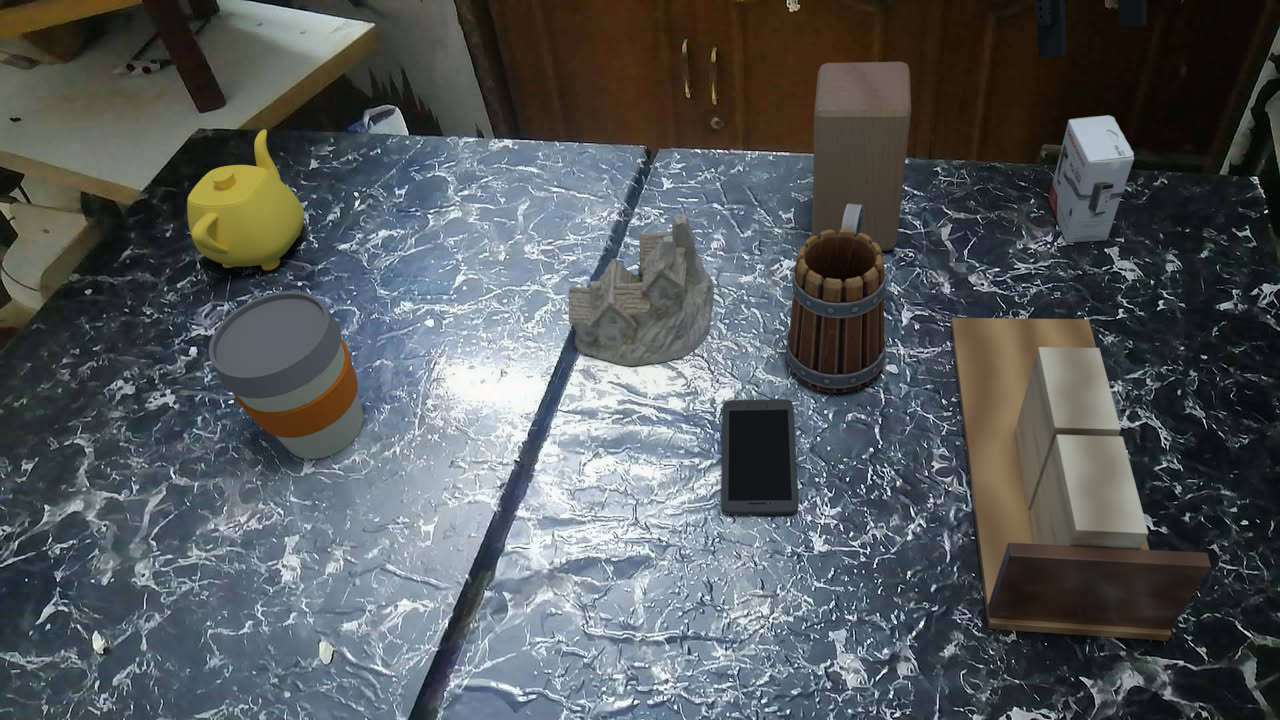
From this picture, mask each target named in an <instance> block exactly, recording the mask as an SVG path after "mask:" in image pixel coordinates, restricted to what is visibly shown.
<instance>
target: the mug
mask: <svg viewBox="0 0 1280 720" xmlns="http://www.w3.org/2000/svg"><path fill="white" fill-rule="evenodd" d="M862 226H863V205H857V204H847V206H846V209H845V213H844V217H843V222H842V228H841V230H839V232H838V233H837V234H836V233H835V231H834V230H826V231H822V232H821V233H820V234H819V236H818V237H817V236H816V235H815V236H812V235H811V236H809V237H808V238H807V239H805V242H804V243H803V244H802V246H801V247H800V248H799V250H798V251H797V253H796V260H795V261H796V262H795V265H794V266H793V274H792V284H791V289H792V290H791V291H792V301H791V309H790V311H791V312H790V320H789V321H790V322H789V330H788V331H787V336H786V346H785V356H786V362H787V364H788V368H789V370H790V371H791V373H792V374H793V375H794V376H796V379H797V380H799V381H800V382H801V383H802V384H803V385H806V386H808V387H810V388H812V389H815V390H817V391H821V392H824V393H825V392H826V393H847V392H853V391H856V390H860V389H861V388H862V387H863V388H864V387H866V386H867V385H869V384H871V383H872V382H873V381H874V380H876V379H877V378H878V376H879V373H880V372H881V371H882V370H883V367H884V364H885V361H886V357H887V356H886V355H887V337H886V335H885V294H886V290H887V285H886V284H887V283H886V282H887V272H886V271H887V270H886V268H885V259H884V254H883V250H881V249H880V247H879V245H878V244H877V243H875V242H873V241H872V239H871V238H870V237H869V236H868V235H866V234H864V233H862Z"/></svg>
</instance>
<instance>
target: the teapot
mask: <svg viewBox="0 0 1280 720" xmlns="http://www.w3.org/2000/svg"><path fill="white" fill-rule="evenodd" d="M267 136H268V131H267V129H266V128H264V129H262V130H260V131H259V132H258V133H257V135H256V137H255V139H254V146H253V147H254V148H253V149H254V158H255V165H256V166H255V165H249V164H232V165H225V166H219V167H216V168H214V169H211V170H210V171H208V172H207V173H206V174H205V175H204V176H203V177H201V179H200V180H199V181H198V182H197V183H196V184H195V186H194V187H193V188H192V190H191V191H190V193H189V194H188V196H187V199H186V200H187V201H186V209H187V210H186V211H187V222H188V223H187V224H188V229H189V233H190V236H191V239H192V242H193V244H194V245H195V247H196V250H197V251H198V252H199V253H200V254H201V255H203V256H204V257H205V258H207V259H209V260H211V261H213V262H216V263H218V264H222V267H223V268H226V269H230V268H233V267H237V268H238V267H241V268H243V267H244V268H245V267H256V266H261V269H262V270H264V271H272V270H275V269H276V268H278V266H279V265H280V264H281V259H280V258H282V257H283V256H284V255H285V254H286V253H287V252H288V251H289V250H290V249H291V247H293V245H294V243H295V242H296V240H297V238H299V237H300V235H301V234H302V233H301V232H302V229H303V226H304V223H305V215H306V213H305V209H304V207H303V205H302V202H300V200H299V198H298V197H297V196H296V195H295V193H294V192H293V190H291V189H290V188H289V187H288V185H286V184H285V183H284V182H283V181H282V179H281V175H280V172H279V170H278V169H277V166H276V165H275V162H274V161H273V159H272V158H271V156H270V153H269V150H268V146H267Z"/></svg>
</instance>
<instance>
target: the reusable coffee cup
mask: <svg viewBox="0 0 1280 720" xmlns="http://www.w3.org/2000/svg"><path fill="white" fill-rule="evenodd" d="M208 355H209V360H210V363H211V365H212V366H213V368H214V371H215V372H216V375H217V377H218V379H219V380H220V382H221V384H222V386H223V387H224V388H225V389H226V390H227V391H229V392H230V393H231V394H233V395H234V397H235V398H234V399H236V402H238V404H239V405H240V406H241V408H242V409H243V410H244V411H245V412H246V413H247V414H248V415H249V416H250V417H251V418H252V419H253V420H254V421H255V423H257V424H258V425H259V426H260V428H262V429H263V431H265V433H268V434H270V435H273V436H275V437H276V438H277V439H278V441H279V442H280V443H281V444H282V445H283V446H284V448H286V449H287V450H288V451H289V452H290V453H291V454H292V455H294V456H296V457H298V458H300V459H303V460H304V459H305V460H318V459H319V460H320V459H324V458H326V457H330V456H333V455H336V454H338V453H339V452H340V451H342V450H345V448H347V447H348V446H350V445H351V444H352V443H353V442H354V440H356V439H357V437H358V436H359V434H360V432H362V429H363V427H364V422H365V413H364V410H363V409H364V408H363V407H362V404H361V400H360V396H359V393H358V389H359V384H358V383H359V382H358V381H359V380H358V377H357V374H356V371H355V368H354V365H353V361H352V358H351V355H350V352H349V349H348V347H347V344H346V343H345V342H344V340H343V339H342V330H341V327H340V325H339V323H338V321H337V320H336V318H335V317H334V315H333V314H332V312H330V309H329V308H328V306H327V305H326V304H325V303H324V302H323V300H322V299H320V298H319V297H317V296H316V295H313V294H312V293H309V292H304V291H298V290H285V291H278V292H273V293H269V294H265V295H262V296H260V297H258V298H254V299H252V300H250V301H249V302H246V303H244V304H243V305H241V306H240V307H238V308H236V309H235V310H233V311H232V312H231V313H230V314H229V315H228V316H227V317H225V318H224V319H223V320H222V322H221V323H220V324H219V325H218V326H217V327H216V329H215V330H214V332H213V334H212V336H211V338H210V342H209V345H208Z"/></svg>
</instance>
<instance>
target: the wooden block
mask: <svg viewBox="0 0 1280 720" xmlns="http://www.w3.org/2000/svg"><path fill="white" fill-rule="evenodd" d="M911 97H912V96H911V71H910V67H909V65H908V64H907V63H906V62H903V61H868V62H867V61H866V62H865V61H864V62H827V63H823V64H821V65H820V67H819V69H818V72H817V79H816V91H815V102H814V115H813V116H814V117H813V161H812V163H813V164H812V165H813V167H812V169H813V170H812V171H813V172H812V214H811V215H812V217H811V236H815V235H816V236H817V237H818V236H819V234H820V233H821V232H822V231H826V230H834V231H835V233H836V234H837V233H838V232H839V230H841V228H842V222H843V217H844V213H845V209H846V206H847V204H857V205H863V226H862V233H864V234H866V235H868V236H869V237H870V238H871V239H872V241H873V242H875V243H877V244H878V245H879V247H880V249H881V251H882V252H883V251H885V252H886V251H891V250H894V249H895V246H896V245H897V243H898V236H899V227H900V217H901V210H902V209H901V208H902V198H903V188H904V180H905V171H906V161H907V151H908V143H909V133H910V126H911V125H910V124H911V115H912V104H911V103H912V98H911Z"/></svg>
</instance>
